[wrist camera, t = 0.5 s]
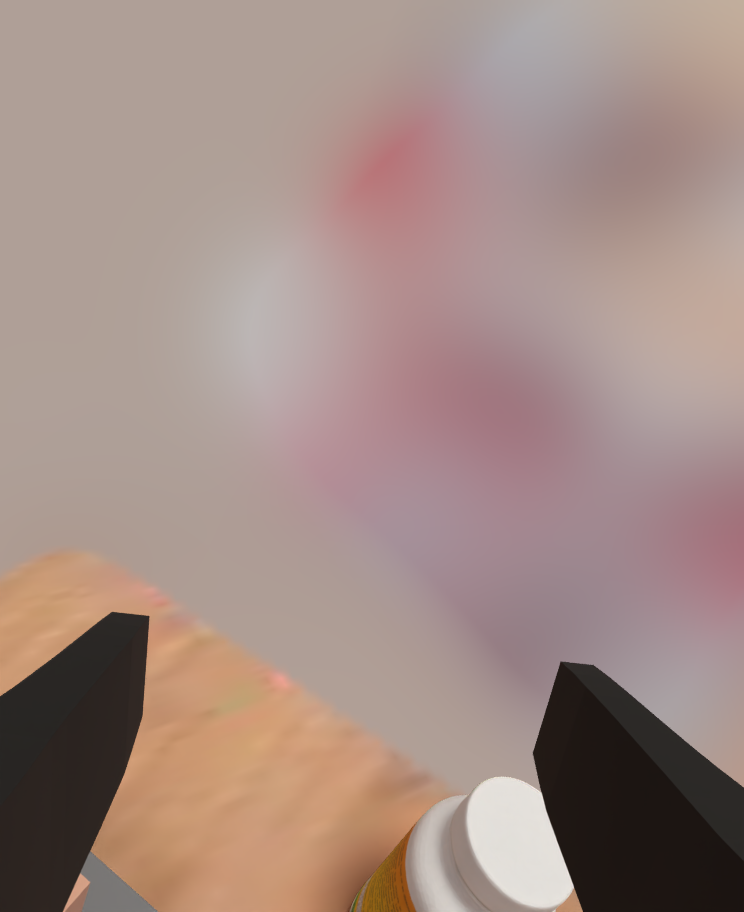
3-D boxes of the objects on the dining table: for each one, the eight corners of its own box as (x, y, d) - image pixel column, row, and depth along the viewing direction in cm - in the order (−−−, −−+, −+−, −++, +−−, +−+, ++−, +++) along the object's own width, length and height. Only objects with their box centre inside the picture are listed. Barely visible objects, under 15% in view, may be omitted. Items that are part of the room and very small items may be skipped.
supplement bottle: (340, 1029, 23) (456, 925, 18) (343, 864, 28) (437, 742, 23) (476, 1042, 25) (622, 947, 19) (459, 882, 29) (574, 770, 24)
